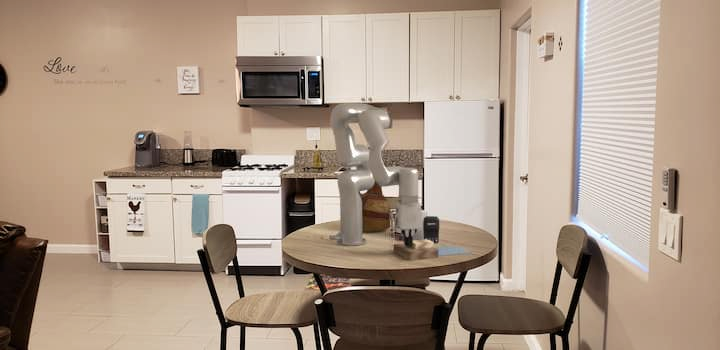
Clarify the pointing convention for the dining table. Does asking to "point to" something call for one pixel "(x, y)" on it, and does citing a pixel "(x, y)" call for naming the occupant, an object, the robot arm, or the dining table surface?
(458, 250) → the rubber mat
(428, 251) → the walnut block
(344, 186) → the robot arm
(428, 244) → the birch slab
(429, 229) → the battery
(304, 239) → the dining table surface
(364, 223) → the brown vase
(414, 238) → the supplement box
